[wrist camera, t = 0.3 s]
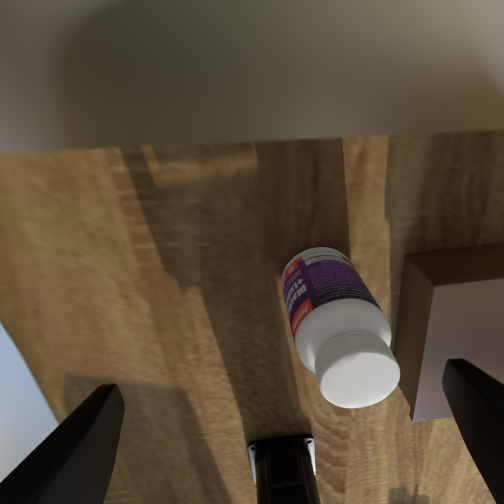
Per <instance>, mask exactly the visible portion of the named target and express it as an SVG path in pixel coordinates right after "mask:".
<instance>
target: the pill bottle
mask: <svg viewBox="0 0 504 504" xmlns="http://www.w3.org/2000/svg"><path fill="white" fill-rule="evenodd" d="M281 283H282V291H283V295H284V299H285V304H286V308H287V312H288V316H289V321H290V326H291V330H292V333H293V338H294V342H295V346H296V349H297V352H298V355H299V358H300V359H301V361H302V362H303V364H304V365H305V366H306V367H307V368H308V369H309V370H310V371H312V372H313V373H315V374H316V377H317V380H318V384H319V387H320V390H321V392H322V394H323V396H324V397H325V398H326V399H327V400H328V401H329V402H331V403H332V404H334V405H337V406H340V407H345V408H359V407H365V406H369V405H372V404H374V403H377V402H379V401H381V400H382V399H384V398H385V397H387V396H388V395H389V394H390V393H391V392H392V391H393V390H394V389H395V387H396V386H397V384H398V382H399V379H400V369H399V365H398V363H397V361H396V359H395V357H394V355H393V353H392V352H391V350H390V348H389V346H390V342H391V329H390V325H389V323H388V320H387V318H386V317H385V315H384V313H383V311H382V310H381V308H380V307H379V305H378V304H377V302H376V301H375V299H374V298H373V296H372V295H371V293H370V291H369V290H368V288H367V287H366V285H365V284H364V282H363V281H362V279H361V277H360V276H359V274H358V273H357V271H356V269H355V268H354V266H353V265H352V263H351V262H350V261H349V259H348V258H347V257H346V256H345V255H344V254H342V253H341V252H339V251H337V250H335V249H332V248H328V247H316V248H311V249H307V250H305V251H303V252H301V253H299V254H297V255H296V256H295V257H293V258H292V259H291V260H290V261H289V263H288V264H287V265H286V267H285V269H284V271H283V275H282V281H281Z"/></svg>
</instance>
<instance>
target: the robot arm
mask: <svg viewBox="0 0 504 504" xmlns="http://www.w3.org/2000/svg"><path fill="white" fill-rule="evenodd" d="M441 386H442V389H443V392H444V394H445V397H446V399H447V401H448V404H449V406H450V409H451V411H452V414H453V416H454V418H455V421H456V423H457V426H458V428H459V431H460V433H461V435H462V438H463V440H464V442H465V445H466V447H467V449H468V451H469V453H470V455H471V457H472V458H473V460H474V462H475V464H476V466H477V468H478V470H479V472H480V473H481V475H482V477H483V479H484V481H485V483H486V485H487V487H488V488H489V490H490V492H491V494H492V496H493V498H494V500H495V502H496V504H504V384H503V383H501V382H500V381H498V380H497V379H495V378H493V377H492V376H490V375H489V374H487V373H486V372H484V371H483V370H481V369H480V368H478V367H477V366H475V365H474V364H472V363H470V362H469V361H467V360H466V359H463V358H457V359H448V360H447V361H446V363H445V367H444V371H443V375H442V379H441ZM124 412H125V404H124V401H123V398H122V395H121V393H120V390H119V388H118V386H117V385H116V384H114V383H113V384H102V385H100V386H99V387H98V388H97V389H96V390H94V391H93V392H92V393H91V394H90V395H89V396H88V397H87V398H86V399H85V400H84V401H83V402H82V403H81V404H80V405H79V406H78V407H77V408H76V409H75V410H74V411H73V412H72V413H71V414H70V415H69V416H68V417H67V418H66V419H65V420H64V421H63V422H62V423H61V424H60V425H59V426H58V427H57V428H56V429H55V430H54V431H53V432H52V433H51V434H50V435H49V436H48V437H47V438H46V439H45V440H44V441H43V442H42V443H41V444H40V445H38V446H37V447H36V449H34V450H33V451H32V452H31V453H30V454H29V455H28V456H27V457H26V458H25V459H24V460H23V461H22V462H21V463H20V464H19V465H18V466H17V467H16V468H15V469H14V470H13V471H12V472H11V473H10V474H9V475H8V476H7V477H6V478H5V479H4V480H3V481H2V482H1V483H0V504H103V502H104V499H105V495H106V492H107V489H108V486H109V482H110V479H111V475H112V472H113V468H114V463H115V458H116V453H117V448H118V443H119V438H120V433H121V428H122V422H123V417H124ZM248 452H249V457H250V463H251V468H252V473H253V479H254V482H255V483H256V488H257V504H321V503H320V498H319V493H318V488H317V484H316V479H315V475H316V468H315V444H314V437H313V435H310V434H308V435H300V436H292V437H284V438H276V439H267V440H259V441H252V442H249V443H248Z"/></svg>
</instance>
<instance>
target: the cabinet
mask: <svg viewBox="0 0 504 504" xmlns="http://www.w3.org/2000/svg"><path fill="white" fill-rule="evenodd" d="M394 357H395V359H396V361H397V363H398V365H399V369H400V379H399V382H398V385H399V387H400V389H401V391H402V393H403V394H404V396H405V398H406V400H407V402H408V404H409V405H410V407H411V408H410V414H409V416H410V418H411V420H412V422H416V421H424V420H432V419H440V418H449V417H454V416H453V414H452V411H451V409H450V406H449V404H448V401H447V399H446V397H445V394H444V392H443V389H442V386H441V379H442V375H443V371H444V367H445V363H446V361H447V360H448V359H457V358H463V359H466V360H467V361H469V362H470V363H472V364H474V365H475V366H477V367H478V368H480V369H481V370H483V371H484V372H486V373H487V374H489V375H490V376H492V377H493V378H495V379H497V380H498V381H500V382H501V383H503V384H504V243H498V244H490V245H482V246H474V247H466V248H458V249H450V250H442V251H434V252H426V253H418V254H410V255H405V258H404V267H403V276H402V285H401V294H400V304H399V313H398V322H397V331H396V340H395V350H394Z"/></svg>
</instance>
